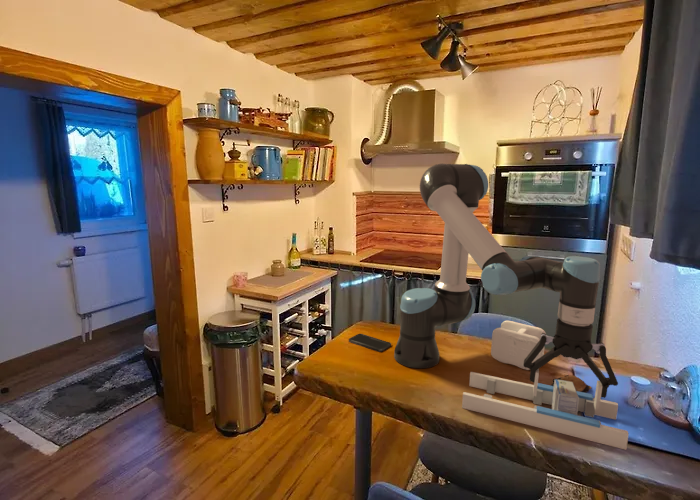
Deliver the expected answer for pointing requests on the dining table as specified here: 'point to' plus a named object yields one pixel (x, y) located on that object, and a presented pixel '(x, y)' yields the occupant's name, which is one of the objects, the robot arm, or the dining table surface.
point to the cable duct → (545, 410)
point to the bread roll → (575, 383)
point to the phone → (370, 342)
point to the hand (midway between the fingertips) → (564, 400)
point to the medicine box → (565, 397)
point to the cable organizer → (515, 343)
